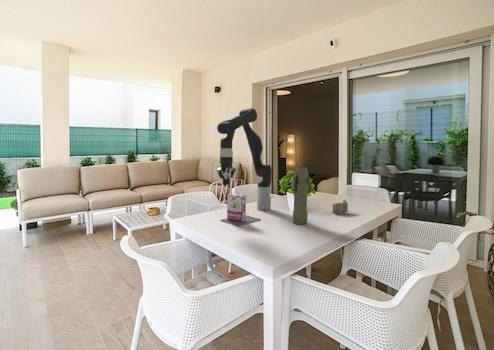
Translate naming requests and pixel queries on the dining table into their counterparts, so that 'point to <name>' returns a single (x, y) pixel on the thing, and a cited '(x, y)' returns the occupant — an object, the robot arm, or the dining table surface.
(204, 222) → the dining table surface
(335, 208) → the architectural model on board
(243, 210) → the candy bar box
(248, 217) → the mat
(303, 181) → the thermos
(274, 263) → the dining table surface
